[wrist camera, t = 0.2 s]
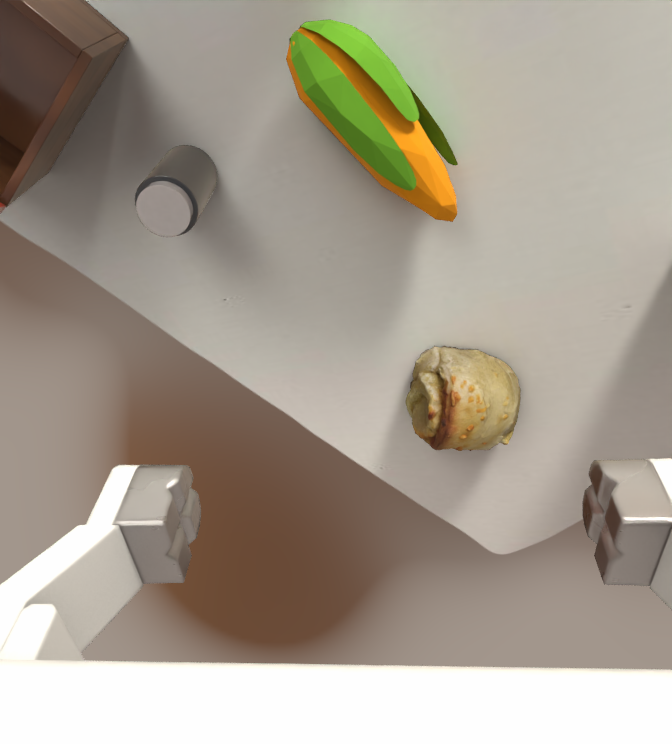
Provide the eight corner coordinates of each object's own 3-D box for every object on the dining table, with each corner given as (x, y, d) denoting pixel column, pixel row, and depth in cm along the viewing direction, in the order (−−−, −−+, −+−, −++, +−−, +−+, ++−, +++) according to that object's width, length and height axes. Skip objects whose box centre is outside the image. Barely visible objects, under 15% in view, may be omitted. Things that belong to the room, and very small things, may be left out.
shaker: (155, 146, 57) (123, 181, 50) (212, 143, 57) (188, 178, 49) (168, 202, 60) (139, 242, 53) (222, 199, 60) (201, 240, 52)
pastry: (388, 357, 69) (389, 404, 63) (501, 323, 66) (514, 369, 60) (427, 446, 77) (432, 496, 71) (530, 420, 74) (545, 469, 67)
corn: (328, -2, 43) (498, 211, 51) (339, -19, 49) (490, 174, 57) (255, 76, 46) (424, 263, 54) (273, 51, 52) (424, 223, 60)
